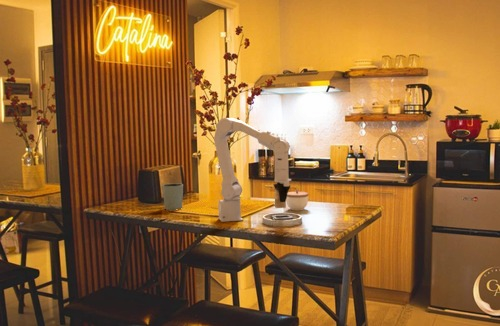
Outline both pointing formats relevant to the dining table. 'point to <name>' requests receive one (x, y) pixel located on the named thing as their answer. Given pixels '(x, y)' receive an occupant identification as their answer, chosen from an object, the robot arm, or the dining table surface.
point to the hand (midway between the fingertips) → (281, 201)
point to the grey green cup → (173, 196)
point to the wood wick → (278, 200)
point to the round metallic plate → (282, 219)
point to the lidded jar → (297, 200)
